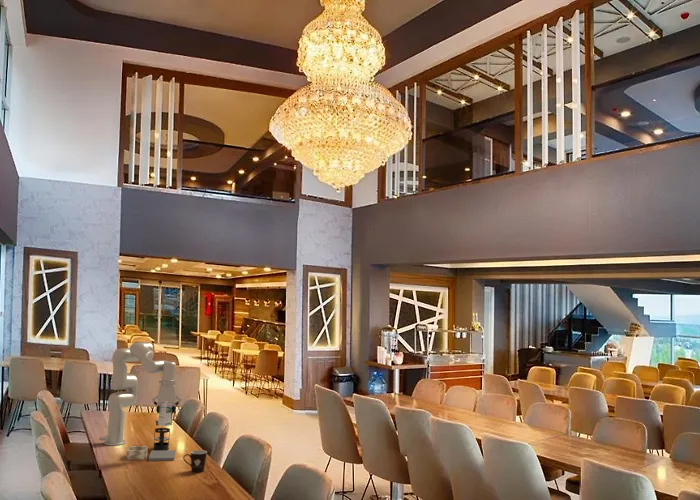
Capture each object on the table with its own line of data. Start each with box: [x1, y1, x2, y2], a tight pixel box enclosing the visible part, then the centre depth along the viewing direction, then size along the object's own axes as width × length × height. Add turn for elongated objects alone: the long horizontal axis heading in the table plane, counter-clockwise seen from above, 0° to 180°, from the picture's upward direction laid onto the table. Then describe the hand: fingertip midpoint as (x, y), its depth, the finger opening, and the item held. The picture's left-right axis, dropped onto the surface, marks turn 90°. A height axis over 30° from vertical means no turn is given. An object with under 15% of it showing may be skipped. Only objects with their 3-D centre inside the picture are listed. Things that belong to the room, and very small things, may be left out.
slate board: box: [148, 449, 176, 462], centre depth 339 cm, size 14×18×2 cm
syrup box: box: [157, 401, 174, 427], centre depth 341 cm, size 6×6×14 cm
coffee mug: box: [183, 449, 208, 474], centre depth 314 cm, size 12×9×10 cm
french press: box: [152, 419, 171, 451], centre depth 358 cm, size 12×9×23 cm
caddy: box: [126, 445, 149, 461], centre depth 336 cm, size 10×10×5 cm
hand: (165, 412), depth 341 cm, fingers closed on syrup box, 8 cm apart
